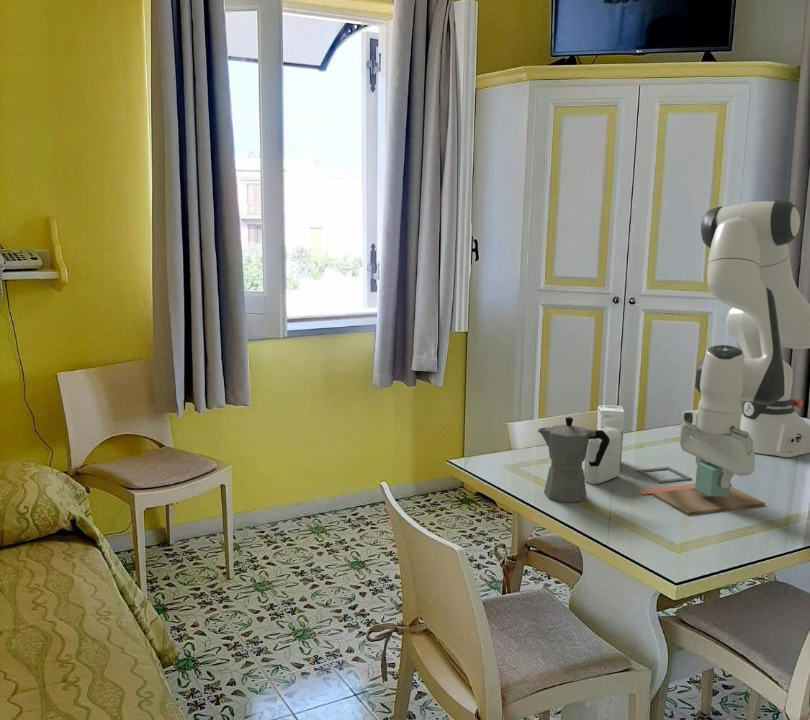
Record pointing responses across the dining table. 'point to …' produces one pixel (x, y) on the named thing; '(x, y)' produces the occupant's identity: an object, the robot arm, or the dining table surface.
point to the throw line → (666, 489)
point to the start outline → (665, 480)
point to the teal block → (710, 479)
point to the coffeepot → (569, 459)
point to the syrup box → (611, 419)
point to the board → (706, 501)
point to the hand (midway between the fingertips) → (713, 482)
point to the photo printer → (609, 461)
